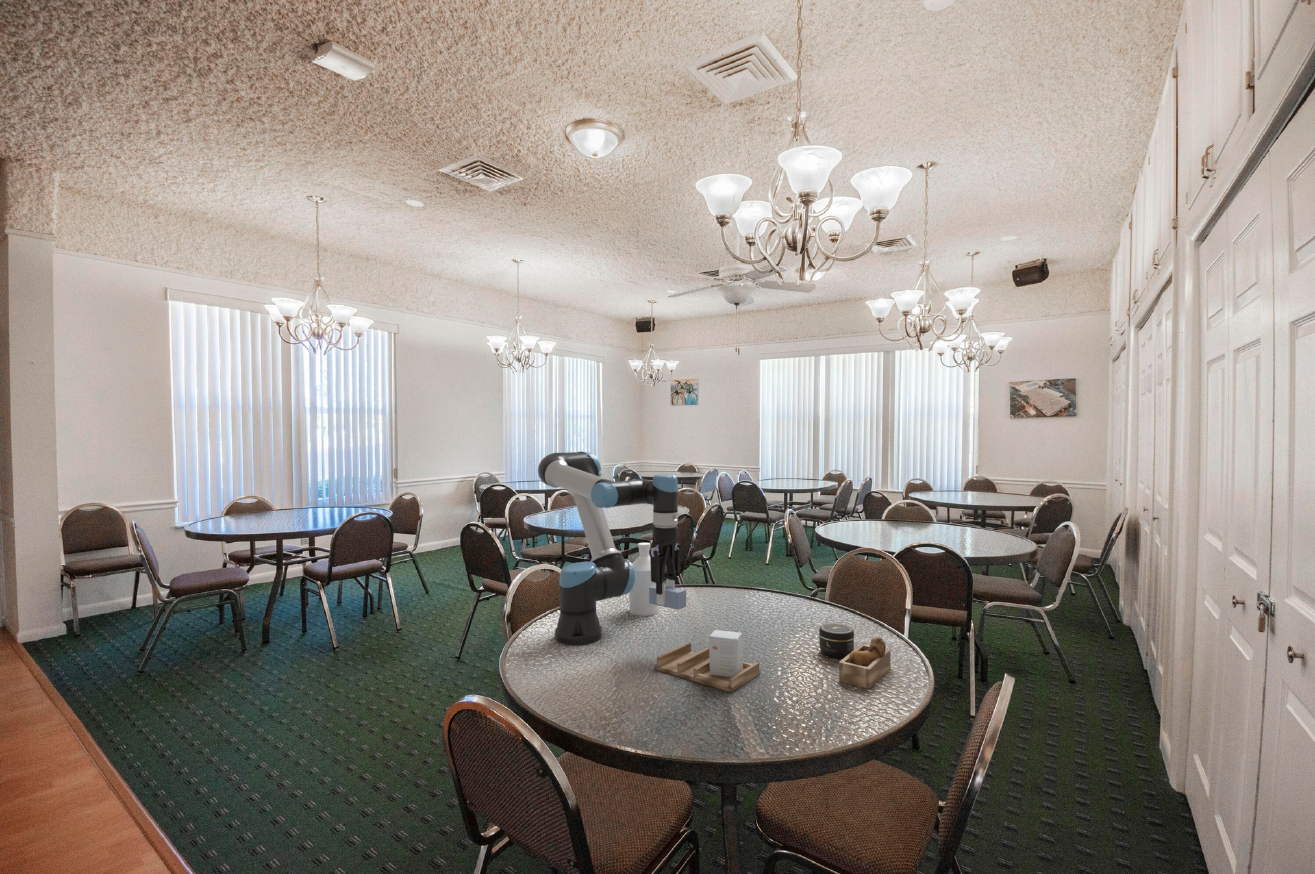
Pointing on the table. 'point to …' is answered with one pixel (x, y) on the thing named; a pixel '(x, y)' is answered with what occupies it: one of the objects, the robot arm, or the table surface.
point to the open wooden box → (864, 669)
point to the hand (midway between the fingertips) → (665, 602)
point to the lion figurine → (868, 653)
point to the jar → (836, 640)
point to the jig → (702, 668)
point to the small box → (725, 653)
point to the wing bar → (669, 597)
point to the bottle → (642, 584)
